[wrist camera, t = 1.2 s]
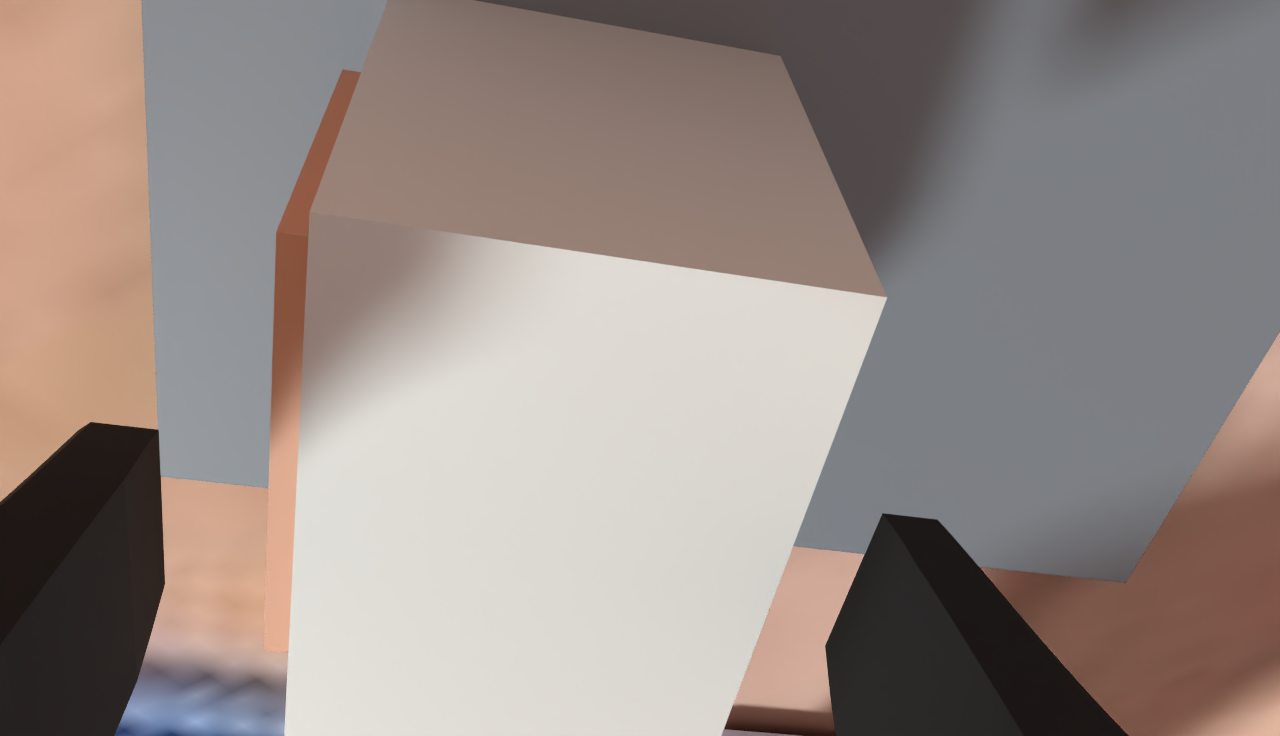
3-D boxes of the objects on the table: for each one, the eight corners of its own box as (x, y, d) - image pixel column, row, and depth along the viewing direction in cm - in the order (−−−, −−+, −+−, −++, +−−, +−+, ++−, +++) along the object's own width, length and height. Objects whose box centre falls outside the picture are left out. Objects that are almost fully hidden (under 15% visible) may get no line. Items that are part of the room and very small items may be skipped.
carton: (780, 55, 15) (886, 296, 10) (666, 463, 19) (704, 779, 14) (360, -21, 14) (260, 204, 9) (330, 423, 18) (248, 745, 13)
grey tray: (1104, 544, 22) (1183, 687, 19) (176, 437, 19) (113, 585, 17) (1773, -598, 13) (2113, -638, 10) (132, -1129, 10) (-32, -1394, 7)
